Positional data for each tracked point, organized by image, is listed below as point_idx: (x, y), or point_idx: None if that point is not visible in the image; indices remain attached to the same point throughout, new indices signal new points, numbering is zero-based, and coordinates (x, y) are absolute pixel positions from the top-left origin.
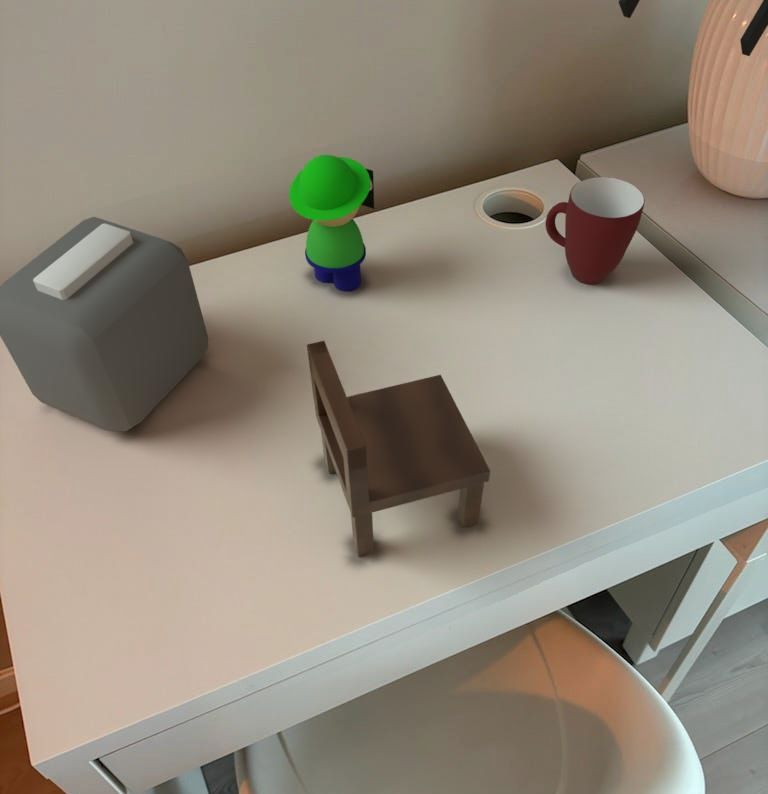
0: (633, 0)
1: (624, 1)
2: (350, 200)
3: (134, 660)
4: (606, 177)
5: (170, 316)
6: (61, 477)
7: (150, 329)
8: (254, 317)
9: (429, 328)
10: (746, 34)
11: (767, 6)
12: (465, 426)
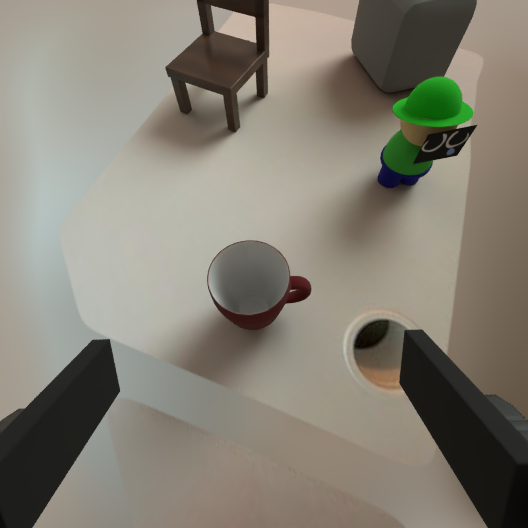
0: (412, 373)
1: (409, 331)
2: (404, 110)
3: (250, 20)
4: (272, 307)
5: (380, 27)
6: (350, 34)
7: (373, 14)
8: (396, 126)
9: (305, 184)
10: (96, 347)
11: (45, 391)
12: (193, 75)
